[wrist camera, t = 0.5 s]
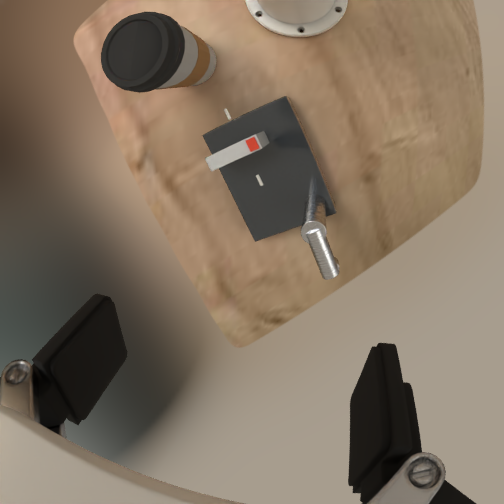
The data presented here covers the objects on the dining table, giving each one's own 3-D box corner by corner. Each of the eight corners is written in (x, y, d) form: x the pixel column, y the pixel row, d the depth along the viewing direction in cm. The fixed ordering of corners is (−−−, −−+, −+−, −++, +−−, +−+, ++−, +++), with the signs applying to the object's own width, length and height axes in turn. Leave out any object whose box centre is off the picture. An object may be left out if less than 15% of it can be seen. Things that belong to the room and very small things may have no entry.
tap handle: (224, 163, 36) (210, 172, 32) (218, 151, 36) (203, 158, 31) (269, 142, 34) (262, 148, 30) (264, 130, 34) (255, 134, 29)
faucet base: (206, 122, 38) (196, 124, 35) (283, 85, 34) (279, 83, 31) (259, 231, 43) (254, 242, 40) (335, 204, 39) (336, 213, 36)
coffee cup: (229, 36, 32) (181, 4, 19) (220, 95, 36) (167, 93, 23) (170, 35, 33) (103, 13, 20) (162, 91, 37) (92, 93, 24)
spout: (302, 198, 37) (296, 227, 28) (320, 191, 36) (321, 218, 27) (322, 246, 39) (321, 286, 30) (339, 240, 38) (344, 279, 30)
